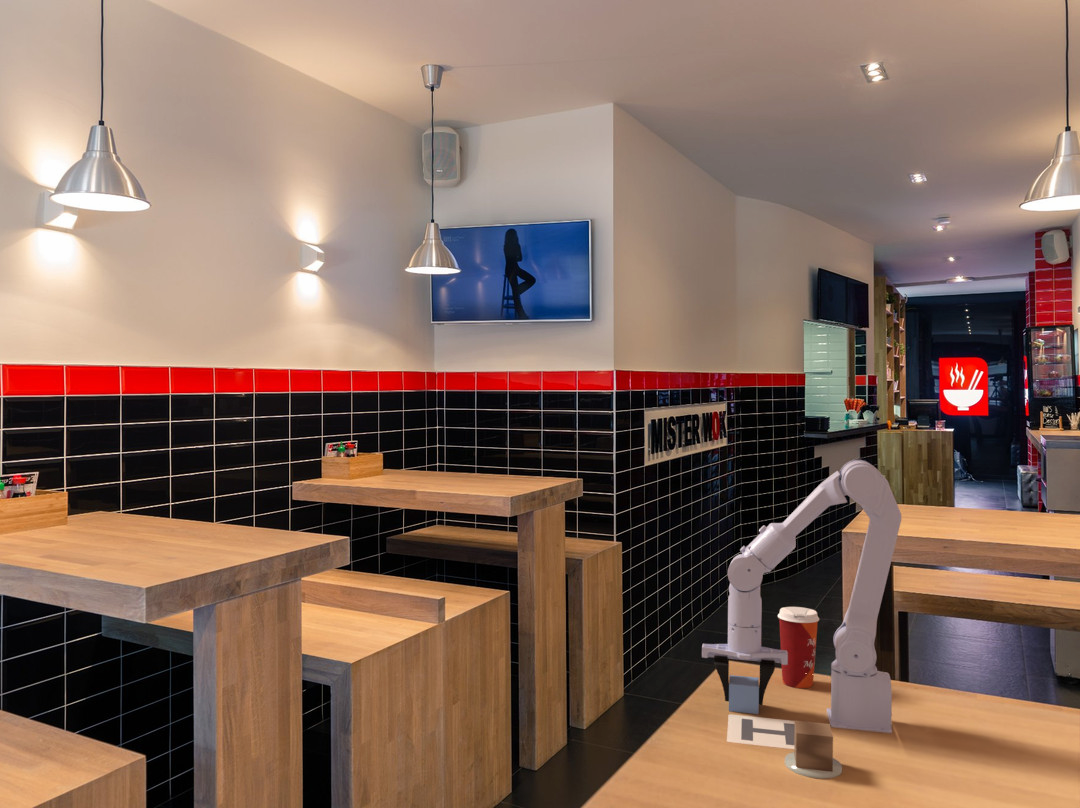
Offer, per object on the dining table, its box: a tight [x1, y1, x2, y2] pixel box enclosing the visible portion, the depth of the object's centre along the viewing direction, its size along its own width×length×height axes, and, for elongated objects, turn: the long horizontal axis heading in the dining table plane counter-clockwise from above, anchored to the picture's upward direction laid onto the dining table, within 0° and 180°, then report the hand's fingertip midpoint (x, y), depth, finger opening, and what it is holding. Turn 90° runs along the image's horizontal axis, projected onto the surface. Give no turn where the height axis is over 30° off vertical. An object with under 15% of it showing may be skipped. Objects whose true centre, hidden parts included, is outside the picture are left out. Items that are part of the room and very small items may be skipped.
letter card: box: [726, 713, 795, 750], centre depth 132 cm, size 13×12×1 cm
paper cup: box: [777, 606, 820, 689], centre depth 157 cm, size 8×8×14 cm
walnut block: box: [793, 720, 834, 772], centre depth 120 cm, size 5×5×5 cm
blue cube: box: [728, 674, 760, 715], centre depth 143 cm, size 5×5×5 cm
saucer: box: [784, 752, 843, 780], centre depth 120 cm, size 8×8×1 cm
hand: (743, 701), depth 143 cm, fingers closed on blue cube, 5 cm apart
